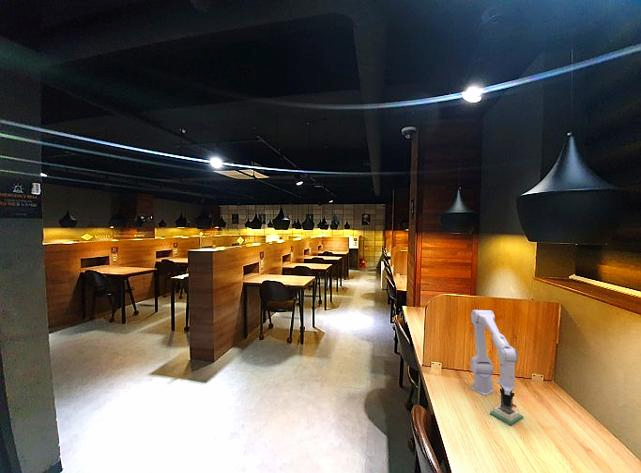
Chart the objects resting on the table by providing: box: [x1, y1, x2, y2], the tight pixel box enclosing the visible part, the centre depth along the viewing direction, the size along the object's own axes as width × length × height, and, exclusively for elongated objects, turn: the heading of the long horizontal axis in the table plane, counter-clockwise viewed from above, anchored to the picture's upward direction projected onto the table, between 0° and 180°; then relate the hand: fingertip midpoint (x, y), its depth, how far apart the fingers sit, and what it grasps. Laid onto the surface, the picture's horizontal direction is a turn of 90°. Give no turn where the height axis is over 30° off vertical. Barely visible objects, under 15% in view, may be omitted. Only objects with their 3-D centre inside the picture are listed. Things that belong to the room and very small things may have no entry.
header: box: [493, 404, 520, 421], centre depth 128 cm, size 7×7×2 cm
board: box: [489, 409, 524, 427], centre depth 128 cm, size 11×9×1 cm
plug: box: [500, 394, 517, 410], centre depth 128 cm, size 4×6×6 cm
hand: (506, 403), depth 128 cm, fingers closed on plug, 5 cm apart
